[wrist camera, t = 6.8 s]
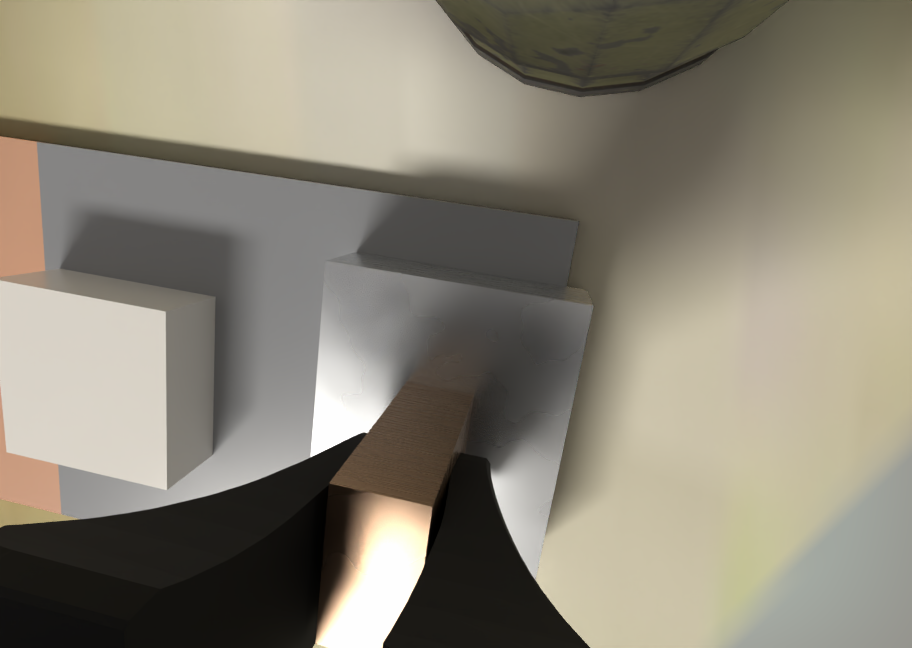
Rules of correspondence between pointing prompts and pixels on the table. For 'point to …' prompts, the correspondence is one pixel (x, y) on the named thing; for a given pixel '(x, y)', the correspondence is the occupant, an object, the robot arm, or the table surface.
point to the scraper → (433, 419)
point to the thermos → (602, 38)
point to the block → (107, 375)
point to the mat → (231, 286)
